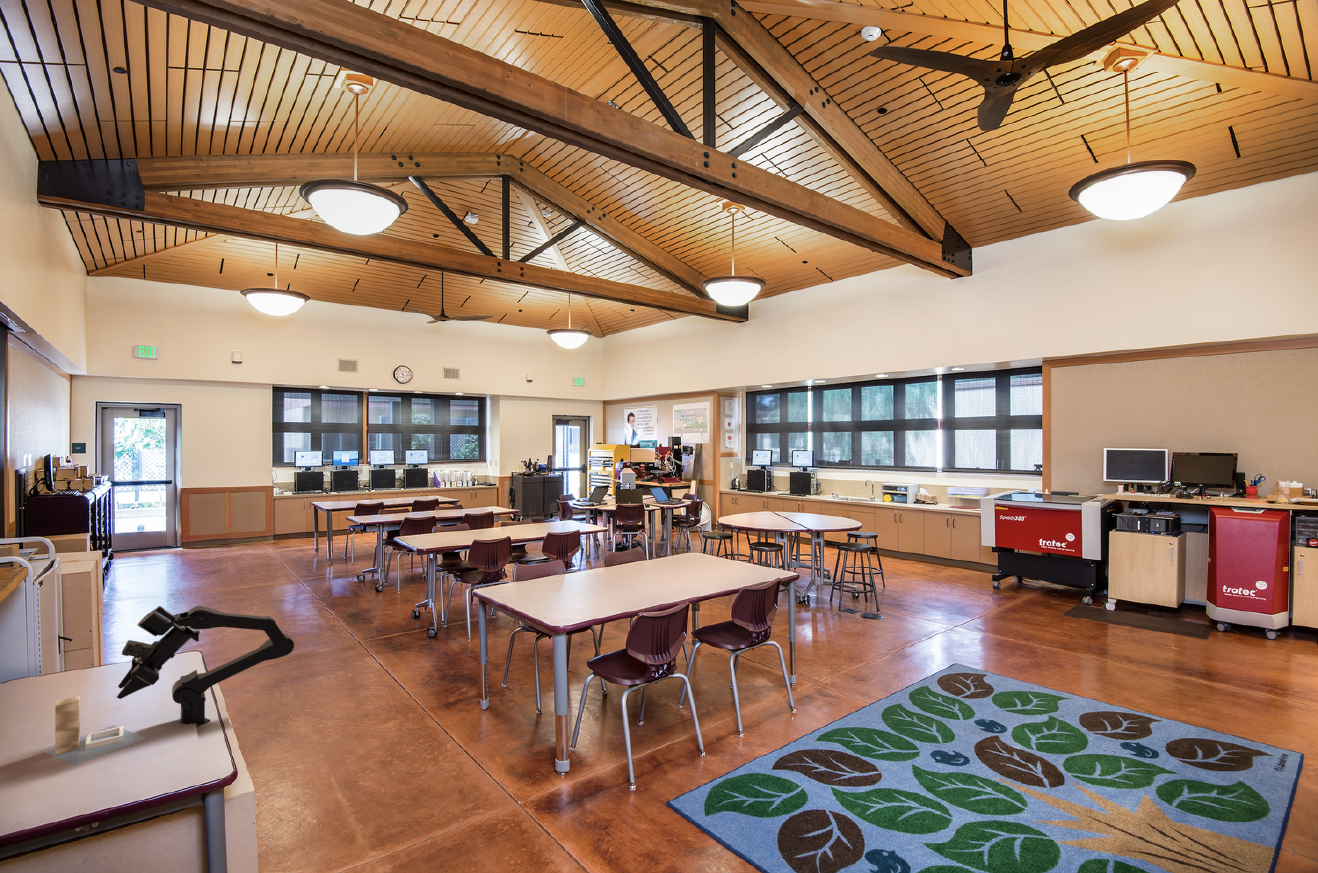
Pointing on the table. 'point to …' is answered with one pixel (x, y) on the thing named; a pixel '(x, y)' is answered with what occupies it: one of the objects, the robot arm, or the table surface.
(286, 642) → the robot arm
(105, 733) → the socket frame
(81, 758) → the base board
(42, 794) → the table surface
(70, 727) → the maple pillar
